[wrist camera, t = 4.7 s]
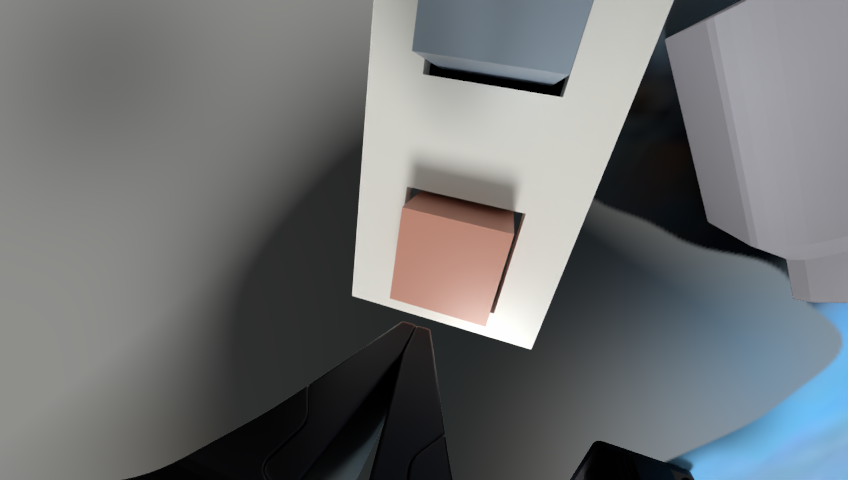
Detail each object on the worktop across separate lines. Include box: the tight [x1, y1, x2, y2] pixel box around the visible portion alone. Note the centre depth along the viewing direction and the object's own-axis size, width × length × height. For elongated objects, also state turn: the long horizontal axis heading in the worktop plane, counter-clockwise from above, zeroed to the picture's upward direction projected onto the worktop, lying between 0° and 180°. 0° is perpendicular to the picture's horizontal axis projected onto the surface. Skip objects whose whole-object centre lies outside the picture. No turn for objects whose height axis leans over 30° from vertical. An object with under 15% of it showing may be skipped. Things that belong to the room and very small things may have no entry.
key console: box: [352, 0, 674, 349], centre depth 15 cm, size 18×10×4 cm, turn 171°
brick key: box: [390, 190, 514, 327], centre depth 15 cm, size 5×5×4 cm
